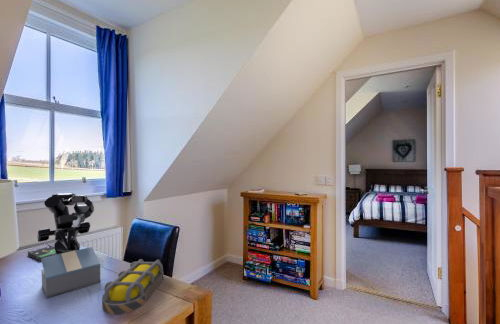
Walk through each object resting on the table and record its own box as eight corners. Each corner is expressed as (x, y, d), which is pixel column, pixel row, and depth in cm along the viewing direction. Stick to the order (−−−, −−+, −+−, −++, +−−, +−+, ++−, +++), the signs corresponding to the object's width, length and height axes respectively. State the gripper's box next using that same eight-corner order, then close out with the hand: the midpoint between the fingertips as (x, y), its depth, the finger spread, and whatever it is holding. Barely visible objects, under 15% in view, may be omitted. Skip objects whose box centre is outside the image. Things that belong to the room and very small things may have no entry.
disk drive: (27, 257, 139) (40, 262, 132) (26, 252, 139) (40, 257, 131) (50, 250, 148) (63, 255, 140) (49, 246, 148) (63, 250, 140)
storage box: (42, 286, 107) (41, 269, 107) (92, 272, 120) (91, 257, 120) (46, 298, 98) (46, 280, 98) (100, 281, 111) (100, 265, 111)
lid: (41, 260, 107) (41, 257, 106) (92, 248, 119) (92, 246, 119) (46, 279, 98) (46, 277, 98) (100, 265, 111) (100, 263, 110)
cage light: (168, 256, 118) (134, 292, 88) (168, 274, 118) (134, 315, 88) (136, 256, 119) (92, 290, 89) (136, 273, 119) (92, 314, 89)
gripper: (37, 210, 110) (41, 243, 102) (88, 204, 123) (96, 233, 115) (35, 225, 116) (39, 257, 108) (84, 217, 129) (91, 246, 121)
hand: (68, 248), depth 113 cm, fingers closed
